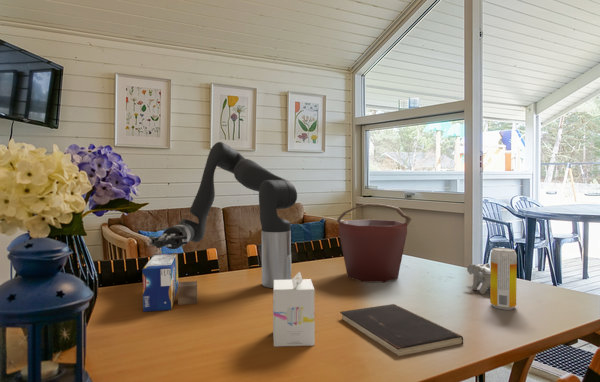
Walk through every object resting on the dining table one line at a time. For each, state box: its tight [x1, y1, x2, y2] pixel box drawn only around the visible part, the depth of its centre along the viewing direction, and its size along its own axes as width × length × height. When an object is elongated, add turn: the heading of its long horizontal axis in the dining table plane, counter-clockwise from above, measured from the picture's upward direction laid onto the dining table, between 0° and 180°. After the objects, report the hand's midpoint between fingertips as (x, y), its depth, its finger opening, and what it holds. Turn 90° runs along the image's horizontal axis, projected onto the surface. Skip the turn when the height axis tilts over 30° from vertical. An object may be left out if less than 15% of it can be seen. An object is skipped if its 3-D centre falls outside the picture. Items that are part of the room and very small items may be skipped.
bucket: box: [336, 203, 412, 283], centre depth 141 cm, size 24×22×25 cm
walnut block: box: [177, 280, 198, 306], centre depth 113 cm, size 5×5×5 cm
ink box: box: [272, 271, 316, 347], centre depth 87 cm, size 9×8×13 cm
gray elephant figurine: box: [466, 263, 491, 295], centre depth 124 cm, size 9×12×8 cm
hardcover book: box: [339, 303, 464, 357], centre depth 91 cm, size 16×23×2 cm
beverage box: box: [141, 252, 179, 312], centre depth 116 cm, size 7×11×22 cm
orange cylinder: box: [489, 247, 518, 311], centre depth 107 cm, size 6×6×15 cm
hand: (158, 244), depth 124 cm, fingers closed
